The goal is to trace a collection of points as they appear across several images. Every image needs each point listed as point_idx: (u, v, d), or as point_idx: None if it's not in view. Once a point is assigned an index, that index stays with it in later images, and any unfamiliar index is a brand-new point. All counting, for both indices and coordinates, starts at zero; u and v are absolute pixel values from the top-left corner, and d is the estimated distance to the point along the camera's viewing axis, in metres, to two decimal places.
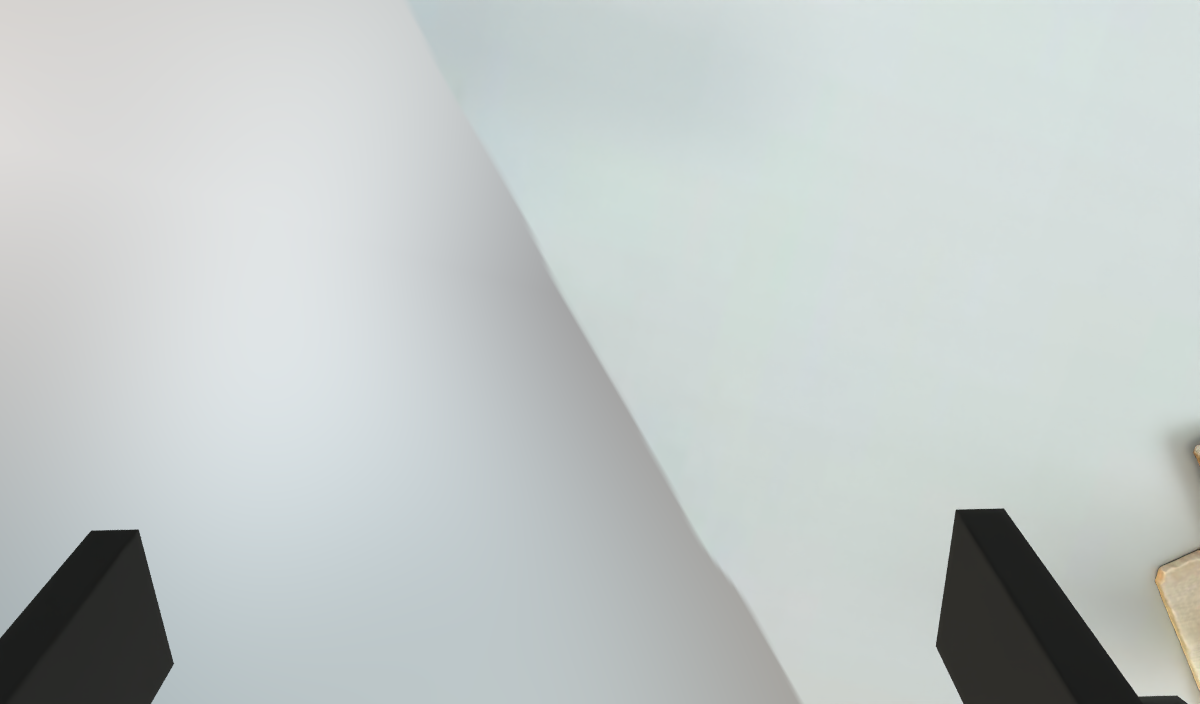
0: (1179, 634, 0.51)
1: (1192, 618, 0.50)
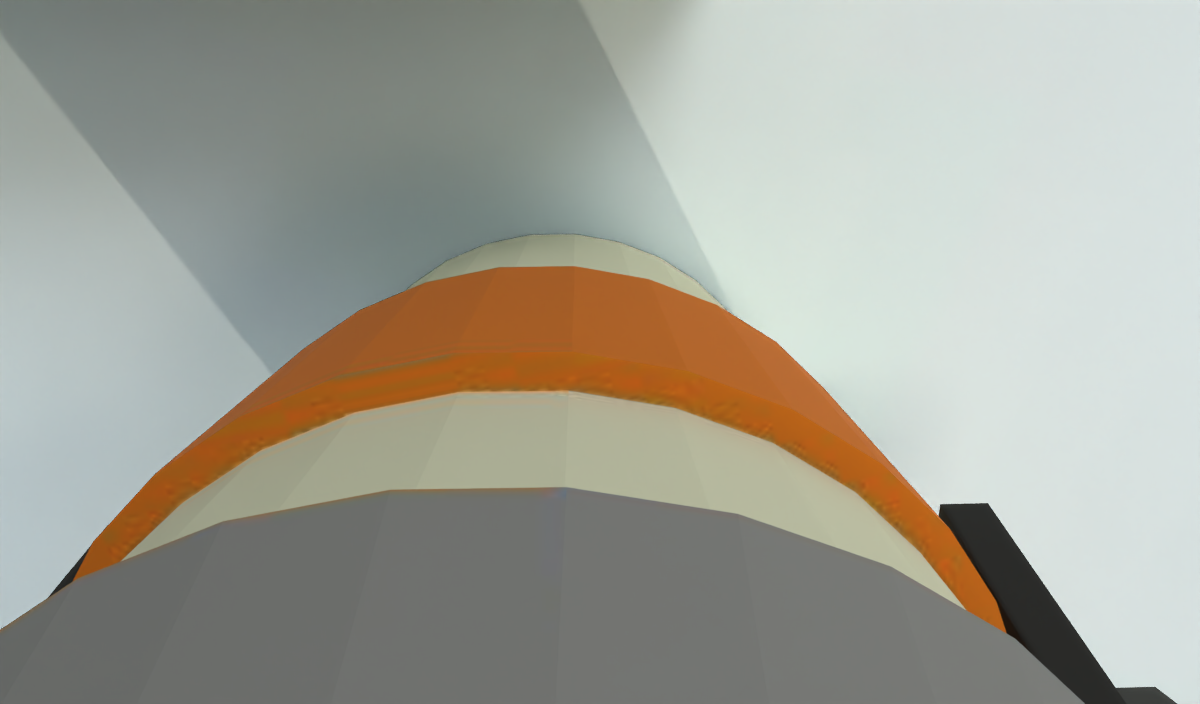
0: None
1: None
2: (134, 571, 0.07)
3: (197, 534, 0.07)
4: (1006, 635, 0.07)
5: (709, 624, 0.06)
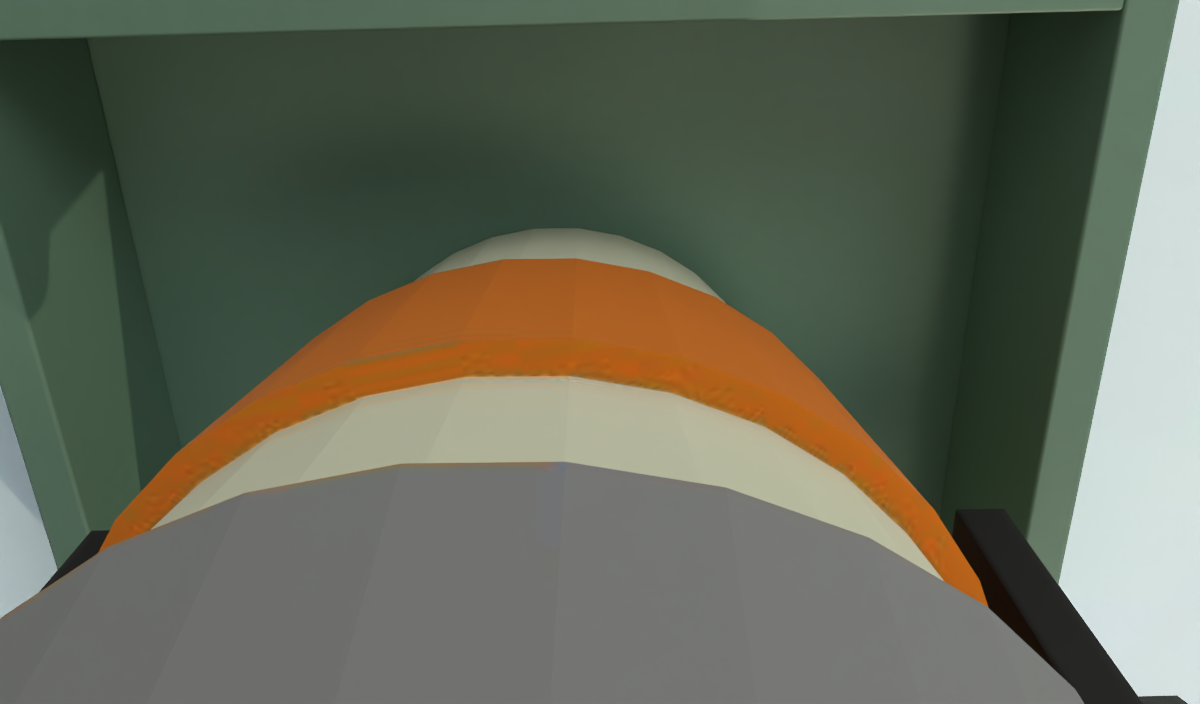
0: None
1: None
2: (162, 539, 0.07)
3: (221, 504, 0.07)
4: (979, 603, 0.08)
5: (696, 584, 0.06)
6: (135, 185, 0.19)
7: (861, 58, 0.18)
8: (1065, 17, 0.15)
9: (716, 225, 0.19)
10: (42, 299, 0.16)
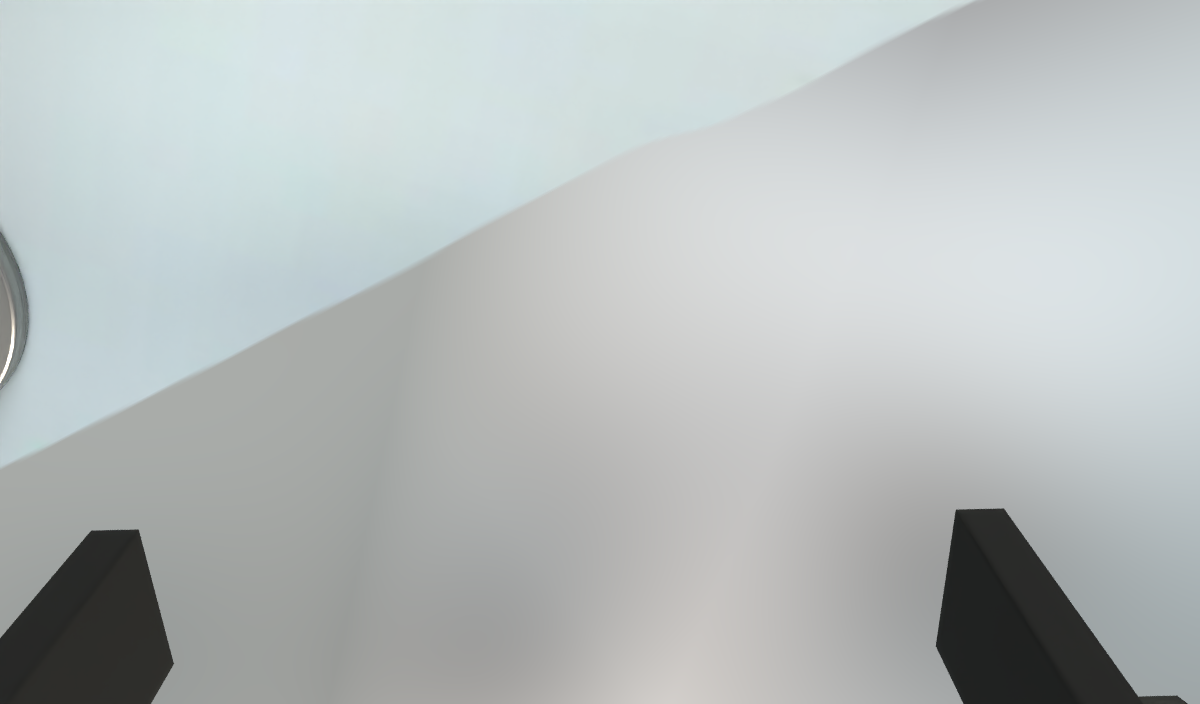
0: None
1: None
2: None
3: None
4: None
5: None
6: None
7: None
8: None
9: None
10: None
